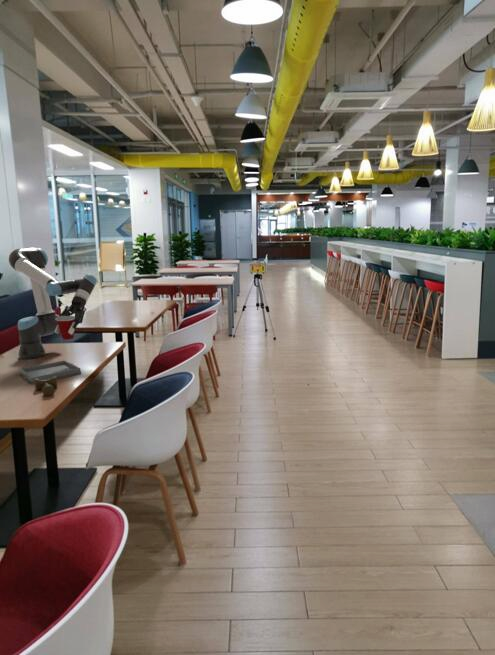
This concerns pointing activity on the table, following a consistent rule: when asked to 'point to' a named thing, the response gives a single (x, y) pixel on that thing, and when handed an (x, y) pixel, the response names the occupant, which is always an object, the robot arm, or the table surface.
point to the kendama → (46, 385)
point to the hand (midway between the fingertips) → (63, 333)
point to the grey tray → (50, 371)
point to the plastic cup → (65, 326)
